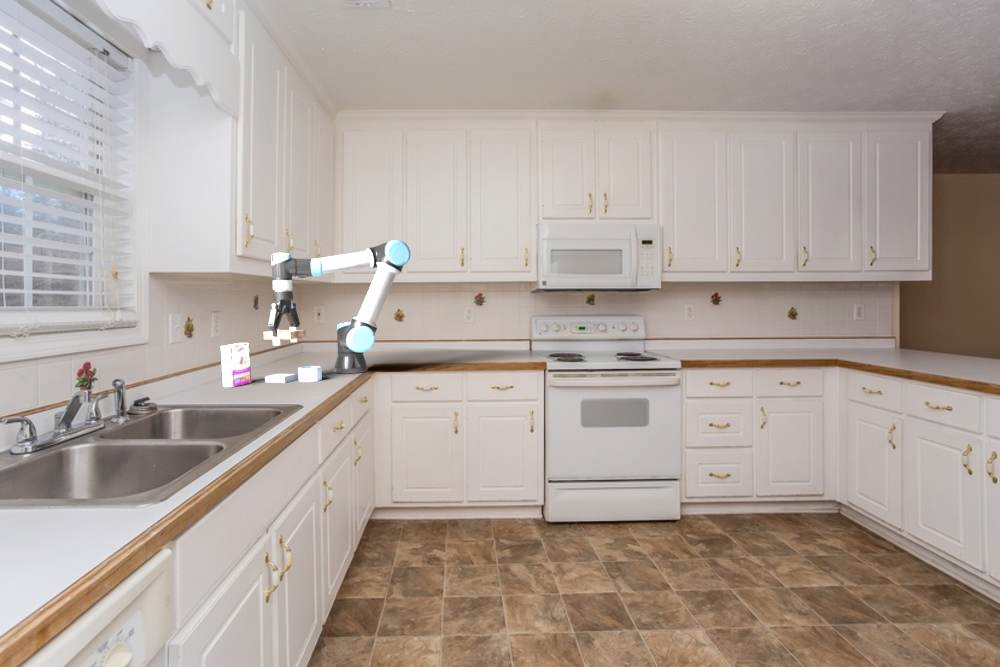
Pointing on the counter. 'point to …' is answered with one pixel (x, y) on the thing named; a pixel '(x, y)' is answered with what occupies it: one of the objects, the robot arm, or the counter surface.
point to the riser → (280, 378)
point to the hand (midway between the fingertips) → (285, 343)
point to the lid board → (287, 334)
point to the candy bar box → (236, 364)
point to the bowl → (310, 373)
